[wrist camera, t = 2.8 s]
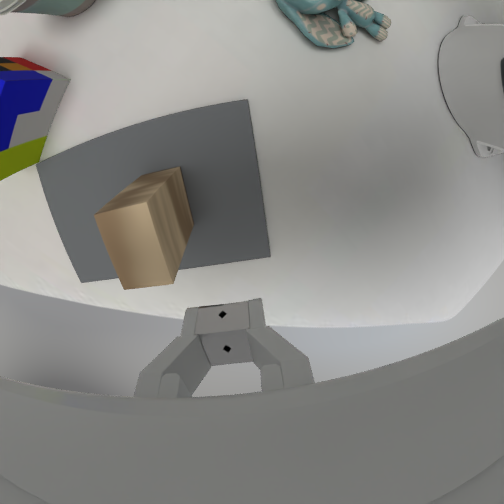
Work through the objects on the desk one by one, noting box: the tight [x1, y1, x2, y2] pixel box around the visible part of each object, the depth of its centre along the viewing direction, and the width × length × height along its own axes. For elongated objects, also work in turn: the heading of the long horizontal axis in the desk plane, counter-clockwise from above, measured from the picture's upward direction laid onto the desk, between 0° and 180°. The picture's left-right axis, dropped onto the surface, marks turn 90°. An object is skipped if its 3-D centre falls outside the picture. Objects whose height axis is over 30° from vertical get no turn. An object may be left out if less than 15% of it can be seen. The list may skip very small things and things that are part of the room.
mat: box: [36, 99, 270, 283], centre depth 26 cm, size 24×16×1 cm, turn 98°
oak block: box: [94, 166, 194, 290], centre depth 21 cm, size 4×6×10 cm, turn 8°
